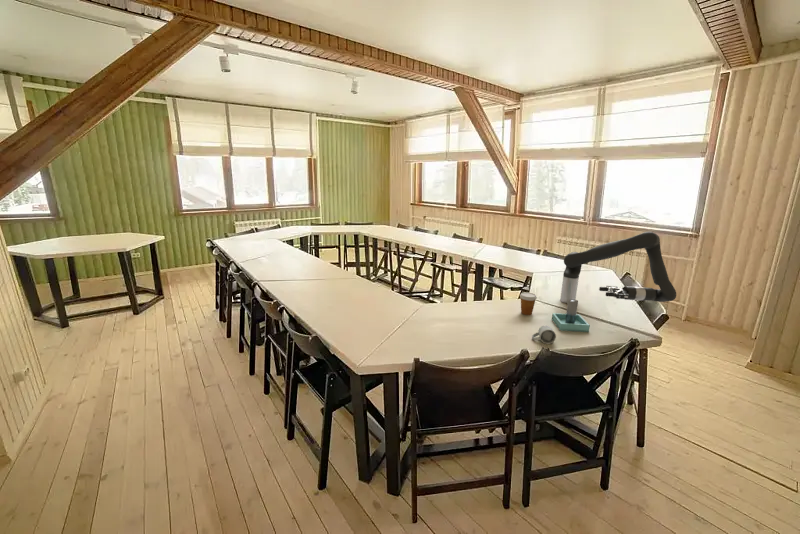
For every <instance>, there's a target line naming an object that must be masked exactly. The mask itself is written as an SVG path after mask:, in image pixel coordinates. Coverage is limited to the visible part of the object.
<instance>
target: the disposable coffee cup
mask: <svg viewBox="0 0 800 534" xmlns="http://www.w3.org/2000/svg"><path fill="white" fill-rule="evenodd" d="M519 297H520V313H521V314H522V315H525V316H531V315H532V314H533V311H534V307H535V305H536V304H535V303H536V300H537V294H535V293H533V292H528V291H527V292H525V291H524V292H521V293H520V295H519Z"/></svg>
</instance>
